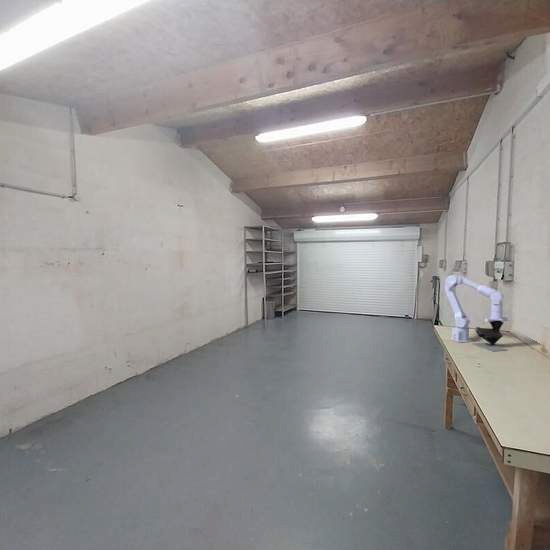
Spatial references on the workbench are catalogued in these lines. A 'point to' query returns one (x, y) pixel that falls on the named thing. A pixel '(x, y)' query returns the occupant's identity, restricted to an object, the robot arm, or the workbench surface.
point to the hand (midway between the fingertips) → (496, 332)
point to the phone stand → (488, 334)
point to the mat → (489, 346)
